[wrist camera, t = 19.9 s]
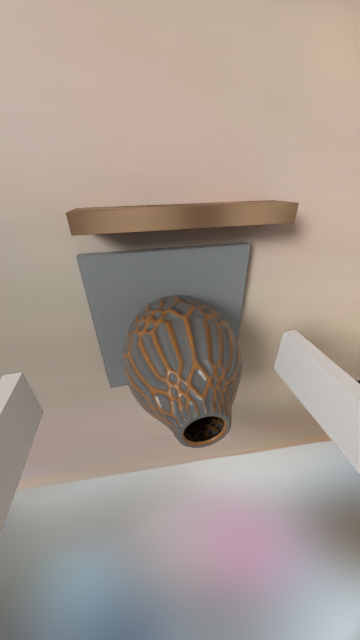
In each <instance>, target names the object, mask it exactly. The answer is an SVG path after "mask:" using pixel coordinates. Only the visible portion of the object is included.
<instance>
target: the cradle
mask: <svg viewBox="0 0 360 640" xmlns="http://www.w3.org/2000/svg"><path fill="white" fill-rule="evenodd" d="M298 204H299V203H294V202H284V201H274V200H272V201H247V202H222V203H197V204H171V205H146V206H121V207H96V208H76V209H73V210H71V211H69V212H66V215H67V219H68V223H69V227H70V231H71V235H89V234H107V233H124V232H141V231H159V230H176V229H194V228H211V227H228V226H246V225H263V224H280V223H294V222H295V217H296V213H297V208H298Z"/></svg>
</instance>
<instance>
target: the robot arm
mask: <svg viewBox="0 0 360 640" xmlns="http://www.w3.org/2000/svg"><path fill="white" fill-rule="evenodd" d="M274 370H275V371H276V372H277V374H278V375H279V376H280V377H281V379H282V380H283V381H284V382H285V383H286V385H287V386H288V387H289V388H290V389H291V391H292V392H293V393H294V394H295V396H296V397H297V398H298V399H299V400H300V402H301V403H302V404H303V405H304V407H305V408H306V409H307V410H308V411H309V413H310V414H311V415H312V416H313V418H314V419H315V420H316V421H317V422H318V424H319V425H320V426H321V427H322V429H323V430H324V431H325V432H326V433H327V435H328V436H329V437H330V438H331V440H332V441H333V442H334V443H335V444H336V446H337V447H338V448H339V449H340V451H341V452H342V453H343V454H344V455H345V456H346V458H347V459H348V460H349V462H350V463H351V464H352V465H353V466H354V468H355V469H356V470H357V471H358V473H359V474H360V381H356V380H354V379H353V378H352V377H351V376H350V375H349V374H347V373H346V372H345V371H344V370H343V369H341V368H340V367H339V366H338V365H337V364H335V363H334V362H333V361H332V360H331V359H330V358H328V357H327V356H326V355H325V354H324V353H322V352H321V351H320V350H319V349H318V348H316V347H315V346H314V345H313V344H312V343H311V342H309V341H308V340H307V339H306V338H305V337H303V336H302V335H301V334H300V333H299V332H298V331H296V330H293V331H287V332H283V336H282V340H281V343H280V347H279V351H278V354H277V358H276V362H275V365H274ZM42 413H43V410H42V408H41V406H40V404H39V402H38V401H37V399H36V397H35V395H34V393H33V391H32V389H31V387H30V385H29V384H28V382H27V380H26V378H25V376H24V374H23V372H20V373H14V374H7V375H3V377H2V378H1V380H0V534H1V531H2V529H3V526H4V523H5V520H6V517H7V514H8V512H9V509H10V505H11V503H12V500H13V497H14V494H15V491H16V488H17V486H18V483H19V480H20V477H21V474H22V471H23V468H24V465H25V462H26V459H27V457H28V454H29V451H30V448H31V445H32V442H33V439H34V436H35V433H36V431H37V428H38V425H39V422H40V419H41V416H42Z"/></svg>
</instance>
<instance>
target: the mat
mask: <svg viewBox="0 0 360 640" xmlns="http://www.w3.org/2000/svg"><path fill="white" fill-rule="evenodd" d="M250 245H251V244H249V243H247V242H245V243H231V244H217V245H202V246H188V247H174V248H160V249H145V250H131V251H117V252H103V253H88V254H78V255H77V261H78V265H79V268H80V272H81V276H82V280H83V284H84V288H85V292H86V295H87V299H88V303H89V307H90V311H91V315H92V318H93V322H94V326H95V330H96V334H97V338H98V341H99V345H100V349H101V353H102V357H103V361H104V364H105V368H106V372H107V376H108V380H109V384H110V387H111V388H112V387H118V386H124V385H129V384H128V382H127V379H126V376H125V371H124V365H123V351H124V343H125V338H126V334H127V332H128V329H129V327H130V325H131V323H132V321H133V320H134V318H135V317H136V316H137V314H138V313H139V312H140V311H141V310H142V309H143V308H144V307H146V306H147V305H148V304H150V303H151V302H153V301H155V300H157V299H159V298H162V297H165V296H170V295H186V296H191V297H194V298H197V299H200V300H202V301H204V302H206V303H207V304H209V305H211V306H212V307H213V308H215V309H216V310H217V311H218V312H219V313H220V314H221V315H222V316H223V317H224V319H225V320H226V321H227V323H228V324H229V325H230V327H231V329H232V330H233V332H234V334H235V337H236V339H237V340H238V333H239V326H240V318H241V311H242V304H243V297H244V289H245V282H246V275H247V267H248V260H249V253H250Z"/></svg>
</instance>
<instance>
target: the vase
mask: <svg viewBox="0 0 360 640" xmlns="http://www.w3.org/2000/svg"><path fill="white" fill-rule="evenodd" d="M123 365H124V371H125V376H126V379H127V382H128V384H129V387H130V389H131V391H132V393H133V395H134V397H135V398H136V400H137V401H138V403H139V404H140V405H141V406H142V407H143V408H144V409H145V410H146V411H147V412H148V413H149V414H151V415H152V416H153V417H155V418H156V419H157V420H159V421H160V422H162V423H163V424H165V425H166V426H167V427H168V428H169V429H170V430H171V431H172V432H173V434H174V435H175V437H176V438H177V439H178V441H179V442H180V443H181V444H183V445H184V446H187V447H192V448H199V447H205V446H209V445H212V444H214V443H216V442H218V441H219V440H221V439H222V438H223V437H224V436H225V435H226V434H227V433H228V432H229V430H230V427H231V410H232V404H233V401H234V398H235V395H236V392H237V389H238V386H239V382H240V378H241V371H242V363H241V354H240V349H239V345H238V342H237V339H236V337H235V334H234V332H233V330H232V329H231V327H230V325H229V324H228V323H227V321H226V320H225V319H224V317H223V316H222V315H221V314H220V313H219V312H218V311H217V310H216V309H215V308H213V307H212V306H211V305H209V304H207V303H206V302H204V301H202V300H200V299H197V298H194V297H191V296H186V295H170V296H165V297H162V298H159V299H157V300H155V301H153V302H151V303H150V304H148V305H147V306H146V307H144V308H143V309H142V310H141V311H140V312H139V313H138V314H137V316H136V317H135V318H134V320H133V321H132V323H131V325H130V327H129V329H128V332H127V334H126V338H125V343H124V351H123Z"/></svg>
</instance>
